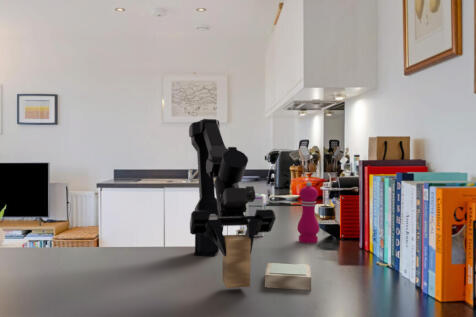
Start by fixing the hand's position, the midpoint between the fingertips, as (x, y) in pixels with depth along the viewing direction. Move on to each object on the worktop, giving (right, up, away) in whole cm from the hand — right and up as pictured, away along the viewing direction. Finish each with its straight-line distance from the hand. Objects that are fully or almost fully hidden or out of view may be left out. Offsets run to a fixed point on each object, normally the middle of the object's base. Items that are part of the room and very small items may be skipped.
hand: (237, 254), depth 89 cm
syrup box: (+7, -7, +62) cm, 63 cm away
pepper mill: (+24, -8, +52) cm, 57 cm away
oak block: (0, -7, +2) cm, 7 cm away
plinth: (+12, -8, +8) cm, 16 cm away
